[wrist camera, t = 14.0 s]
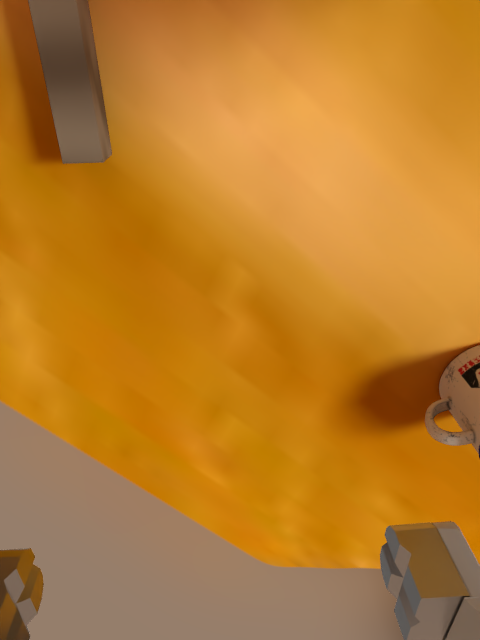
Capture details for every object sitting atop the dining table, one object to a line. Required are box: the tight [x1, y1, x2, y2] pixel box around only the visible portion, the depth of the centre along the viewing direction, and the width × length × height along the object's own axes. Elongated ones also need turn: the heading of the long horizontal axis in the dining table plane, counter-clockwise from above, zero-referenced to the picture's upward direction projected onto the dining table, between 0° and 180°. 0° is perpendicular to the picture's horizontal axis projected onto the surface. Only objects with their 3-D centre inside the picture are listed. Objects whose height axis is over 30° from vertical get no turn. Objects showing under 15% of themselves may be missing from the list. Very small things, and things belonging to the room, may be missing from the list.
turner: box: [28, 0, 112, 163], centre depth 26 cm, size 17×6×3 cm, turn 1°
